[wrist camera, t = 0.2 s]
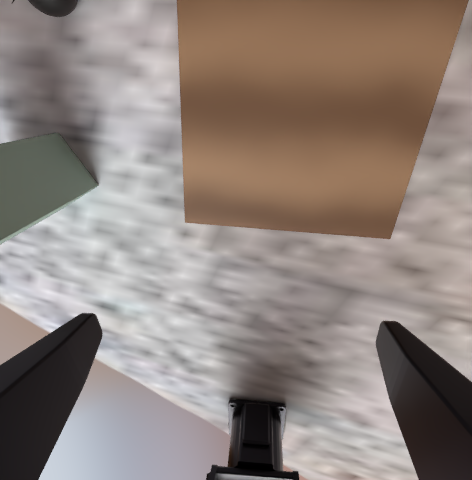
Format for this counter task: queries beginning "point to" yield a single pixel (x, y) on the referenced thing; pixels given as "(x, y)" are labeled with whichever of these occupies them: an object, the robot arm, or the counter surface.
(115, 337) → the counter surface
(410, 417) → the robot arm
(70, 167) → the green post
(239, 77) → the walnut base
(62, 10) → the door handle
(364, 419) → the counter surface
